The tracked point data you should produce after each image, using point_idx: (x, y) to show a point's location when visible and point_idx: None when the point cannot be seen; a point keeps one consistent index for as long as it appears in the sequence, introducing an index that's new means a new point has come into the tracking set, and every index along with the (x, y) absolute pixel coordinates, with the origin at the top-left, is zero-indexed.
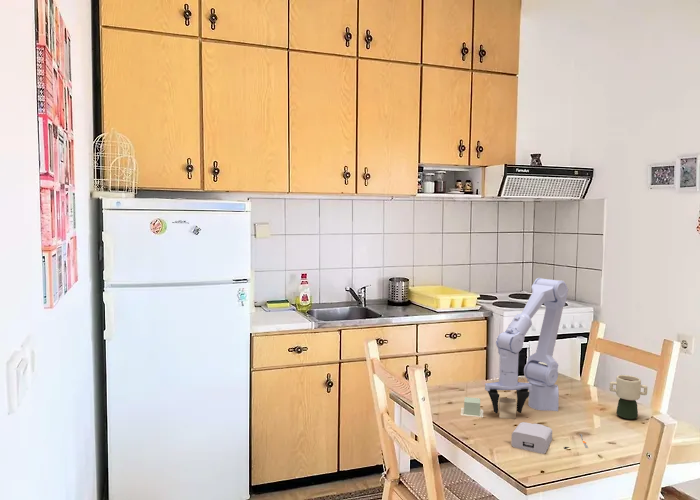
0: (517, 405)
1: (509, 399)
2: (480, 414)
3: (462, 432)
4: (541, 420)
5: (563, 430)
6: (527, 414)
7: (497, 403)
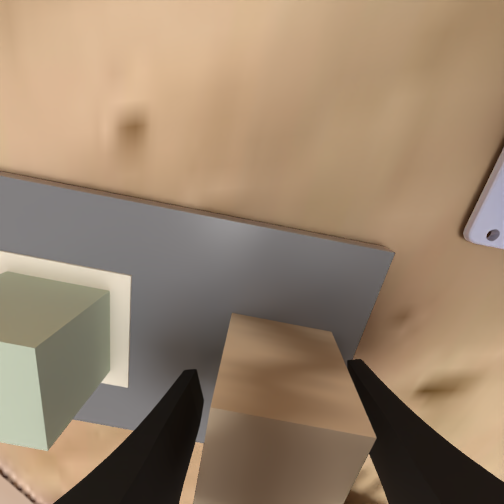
0: (365, 397)
1: (302, 455)
2: (113, 353)
3: (54, 473)
4: (465, 359)
5: (501, 459)
6: (429, 274)
7: (175, 497)
